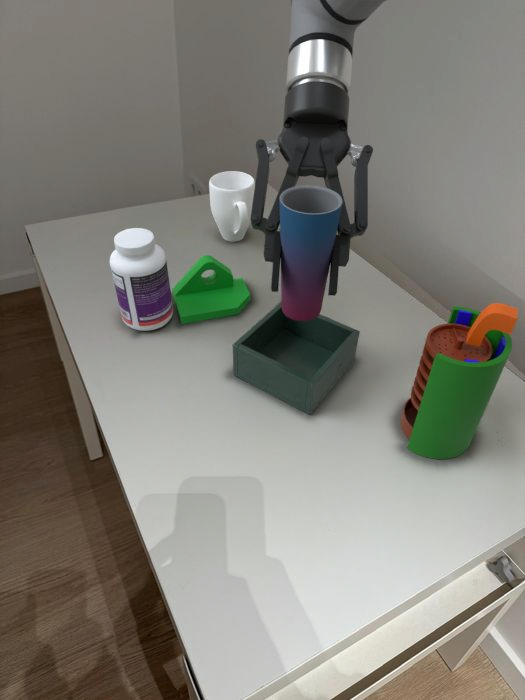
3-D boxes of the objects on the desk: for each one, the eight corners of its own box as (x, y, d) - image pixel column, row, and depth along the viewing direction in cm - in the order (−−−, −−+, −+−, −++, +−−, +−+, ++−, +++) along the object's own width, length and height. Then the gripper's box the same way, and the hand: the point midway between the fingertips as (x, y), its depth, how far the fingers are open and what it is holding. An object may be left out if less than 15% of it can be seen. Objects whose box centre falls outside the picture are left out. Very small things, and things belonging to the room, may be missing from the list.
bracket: (181, 324, 81) (177, 288, 76) (173, 295, 86) (168, 260, 81) (254, 311, 83) (255, 276, 79) (242, 284, 89) (242, 250, 84)
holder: (354, 361, 75) (360, 331, 71) (309, 415, 67) (313, 384, 63) (282, 328, 80) (283, 298, 76) (233, 375, 73) (232, 344, 69)
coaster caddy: (400, 393, 71) (436, 270, 57) (467, 404, 69) (520, 281, 56) (399, 453, 63) (440, 328, 50) (475, 466, 62) (538, 342, 48)
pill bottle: (181, 306, 84) (172, 227, 74) (162, 337, 78) (150, 256, 68) (134, 298, 85) (119, 220, 75) (113, 329, 79) (94, 248, 70)
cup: (320, 290, 69) (333, 183, 58) (334, 323, 64) (350, 211, 53) (270, 295, 68) (274, 186, 57) (280, 328, 63) (286, 216, 53)
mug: (207, 228, 103) (204, 173, 95) (247, 223, 105) (247, 168, 97) (222, 260, 94) (220, 202, 87) (265, 253, 96) (267, 196, 89)
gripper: (392, 115, 64) (380, 301, 63) (239, 108, 64) (225, 291, 64) (406, 81, 56) (393, 292, 55) (233, 73, 57) (217, 280, 56)
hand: (303, 291), depth 59 cm, fingers closed on cup, 6 cm apart
